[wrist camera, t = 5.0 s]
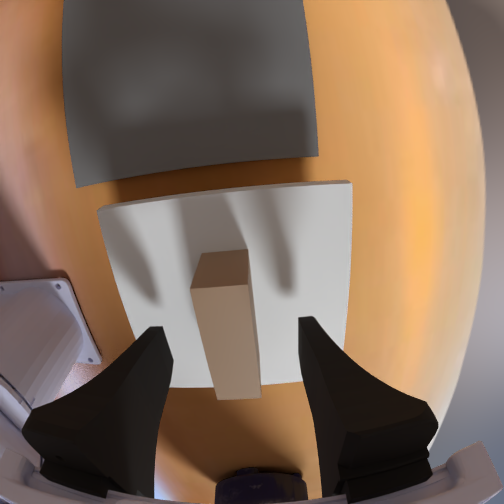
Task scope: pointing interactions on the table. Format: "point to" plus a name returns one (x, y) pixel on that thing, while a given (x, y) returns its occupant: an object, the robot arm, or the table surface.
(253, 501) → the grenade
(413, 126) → the table surface
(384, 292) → the table surface
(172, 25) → the mat
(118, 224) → the lid
